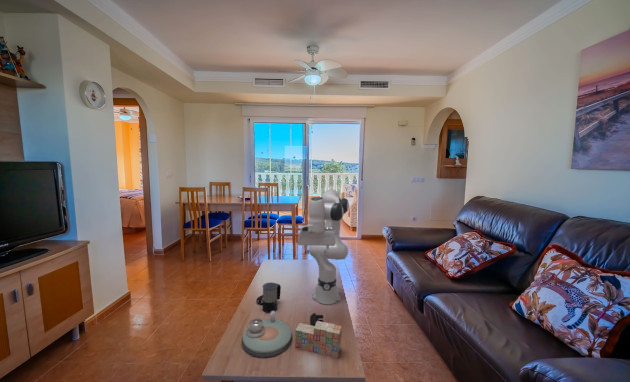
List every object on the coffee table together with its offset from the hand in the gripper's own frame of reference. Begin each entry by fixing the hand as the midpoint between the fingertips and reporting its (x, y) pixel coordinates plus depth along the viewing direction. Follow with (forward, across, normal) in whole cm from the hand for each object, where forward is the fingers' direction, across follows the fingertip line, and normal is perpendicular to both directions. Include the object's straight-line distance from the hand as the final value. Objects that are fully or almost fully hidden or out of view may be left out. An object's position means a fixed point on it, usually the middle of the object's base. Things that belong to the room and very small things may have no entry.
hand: (316, 253), depth 135 cm
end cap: (+42, 0, -4) cm, 42 cm away
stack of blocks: (+44, -1, +10) cm, 45 cm away
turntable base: (+42, +24, +6) cm, 49 cm away
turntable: (+40, +24, +7) cm, 48 cm away
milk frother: (+38, +32, -24) cm, 56 cm away
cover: (+38, +30, +7) cm, 49 cm away
